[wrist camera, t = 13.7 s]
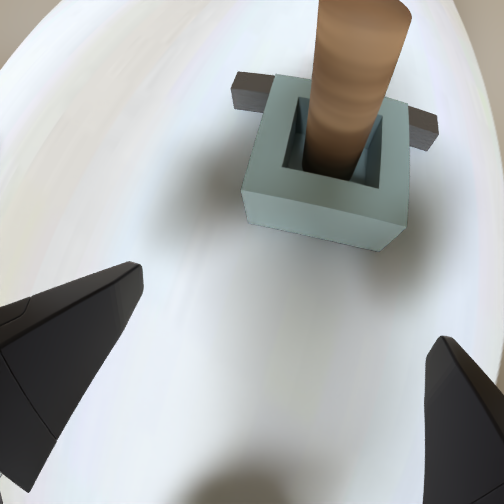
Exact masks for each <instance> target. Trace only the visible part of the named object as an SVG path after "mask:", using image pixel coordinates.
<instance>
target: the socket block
mask: <svg viewBox="0 0 504 504" xmlns="http://www.w3.org/2000/svg"><path fill="white" fill-rule="evenodd" d="M311 82H312V80H310V79H304V78H298V77H292V76H286V75H279V74H275V78H274V81H273V84H272V87H271V90H270V94H269V97H268V100H267V103H266V107H265V110H264V113H263V116H262V120H261V123H260V126H259V130H258V133H257V136H256V140H255V143H254V146H253V150H252V153H251V156H250V160H249V163H248V167H247V170H246V174H245V177H244V180H243V184H242V187H241V193H242V198H243V202H244V207H245V212H246V216H247V221H248V223H250V224H255V225H259V226H264V227H269V228H274V229H278V230H283V231H288V232H292V233H297V234H302V235H306V236H311V237H315V238H320V239H324V240H329V241H333V242H338V243H342V244H346V245H351V246H355V247H360V248H364V249H368V250H372V251H377V252H380V251H381V250H382V249H383V248H384V247H385V246H387V245H388V244H389V243H390V242H391V241H392V240H393V239H394V238H396V237H397V236H398V235H399V234H400V233H401V232H402V231H403V230H404V229H405V228H406V227H407V219H408V201H409V165H410V150H409V115H408V104H407V103H404V102H401V101H398V100H394V99H391V98H387V97H384V99H383V101H382V104H381V107H380V109H379V112H378V114H377V117H376V119H375V122H374V124H373V127H372V129H371V132H370V134H369V137H368V139H367V142H366V144H365V147H364V149H363V152H362V154H361V156H360V159H359V161H358V163H357V166H356V168H355V171H354V173H353V175H352V177H351V179H350V181H344V180H340V179H336V178H331V177H327V176H322V175H318V174H313V173H308V172H304V171H303V168H302V159H303V151H304V143H305V135H306V127H307V118H308V110H309V101H310V92H311Z"/></svg>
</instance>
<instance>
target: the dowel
mask: <svg viewBox="0 0 504 504" xmlns="http://www.w3.org/2000/svg"><path fill="white" fill-rule="evenodd" d="M411 19H412V16H411V13H410V11H409V9H408V8H407V7H406V6H405V5H404V4H403V3H402V2H400V1H399V0H319V6H318V19H317V30H316V42H315V52H314V63H313V73H312V82H311V92H310V101H309V110H308V118H307V127H306V135H305V143H304V151H303V159H302V168H303V171H304V172H308V173H313V174H318V175H322V176H327V177H331V178H336V179H340V180H344V181H350V179H351V177H352V175H353V173H354V171H355V168H356V166H357V163H358V161H359V159H360V156H361V154H362V152H363V149H364V147H365V144H366V142H367V139H368V137H369V134H370V132H371V129H372V127H373V124H374V122H375V119H376V117H377V114H378V112H379V109H380V107H381V104H382V101H383V99H384V96H385V94H386V91H387V88H388V86H389V83H390V80H391V77H392V75H393V72H394V69H395V66H396V64H397V61H398V58H399V55H400V52H401V49H402V47H403V44H404V41H405V38H406V35H407V32H408V29H409V26H410V23H411Z"/></svg>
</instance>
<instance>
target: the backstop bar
mask: <svg viewBox="0 0 504 504" xmlns="http://www.w3.org/2000/svg"><path fill="white" fill-rule="evenodd" d="M274 78H275V76H273V75H265V74H257V73H248V72H237V75H236V77H235V79H234V82H233V84H232V87H231V93H232V99H233V104H234V109H239V110H247V111H254V112H261V113H264V110H265V107H266V103H267V100H268V97H269V94H270V90H271V87H272V84H273V81H274ZM408 115H409V146H412V147H415V148H418V149H421V150H424V151H428V149H429V148H430V146H431V145H432V144H433V142H434V141H435V139H436V138H437V136H438V135H439V131H438V121H437V115H434V114H432V113H429V112H426V111H423V110H420V109H417V108H414V107H411V106H408Z"/></svg>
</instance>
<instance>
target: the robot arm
mask: <svg viewBox="0 0 504 504" xmlns="http://www.w3.org/2000/svg"><path fill="white" fill-rule="evenodd" d="M143 289H144V284H143V269H142V266H141V265H140V264H138V263H134V262H131V261H128V262H125V263H122V264H119V265H116V266H113V267H111V268H108V269H105V270H102V271H99V272H96V273H93V274H91V275H88V276H85V277H82V278H79V279H77V280H74V281H71V282H68V283H65V284H63V285H60V286H57V287H54V288H52V289H49V290H46V291H44V292H41V293H38V294H35V295H33V296H32V297H27V298H25V299H22V300H19V301H17V302H14V303H11V304H8V305H5V306H2V307H0V478H1V476H2V474H3V475H5V476H6V477H7V478H9V479H10V480H11V481H12V482H14V483H15V484H16V485H18V486H19V487H20V488H22V489H23V490H25V491H26V492H27V493H29V492H30V491H31V489H32V487H33V485H34V483H35V481H36V479H37V477H38V475H39V473H40V472H41V470H42V468H43V466H44V464H45V462H46V460H47V458H48V457H49V455H50V453H51V451H52V449H53V447H54V446H55V444H56V442H57V440H58V438H59V436H60V435H61V433H62V431H63V429H64V428H65V426H66V424H67V422H68V421H69V419H70V417H71V415H72V414H73V412H74V410H75V409H76V407H77V405H78V403H79V402H80V400H81V398H82V397H83V395H84V393H85V392H86V390H87V388H88V387H89V385H90V384H91V382H92V380H93V379H94V377H95V375H96V374H97V372H98V371H99V369H100V367H101V366H102V364H103V363H104V361H105V359H106V358H107V356H108V355H109V353H110V352H111V350H112V348H113V347H114V345H115V344H116V342H117V341H118V339H119V337H120V336H121V334H122V332H123V331H124V329H125V327H126V325H127V323H128V321H129V319H130V317H131V315H132V313H133V311H134V309H135V307H136V305H137V303H138V301H139V299H140V297H141V296H142V293H143ZM424 415H425V475H424V493H423V504H504V395H503V394H502V392H501V391H500V390H499V389H498V388H497V386H496V385H495V384H494V383H493V382H492V381H491V379H490V378H489V377H488V376H487V375H486V374H485V373H484V371H483V370H482V369H481V368H480V367H479V366H478V365H477V364H476V363H475V361H474V360H473V359H472V358H471V357H470V356H469V355H468V354H467V353H466V352H465V350H464V349H463V348H462V347H461V346H460V345H459V344H458V343H457V342H456V341H455V340H454V339H453V338H452V337H448V336H440V337H439V338H438V339H437V340H436V342H435V344H434V345H433V347H432V348H431V350H430V351H429V353H428V355H427V357H426V363H425V397H424ZM0 504H3V501H2V497H1V493H0Z"/></svg>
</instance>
